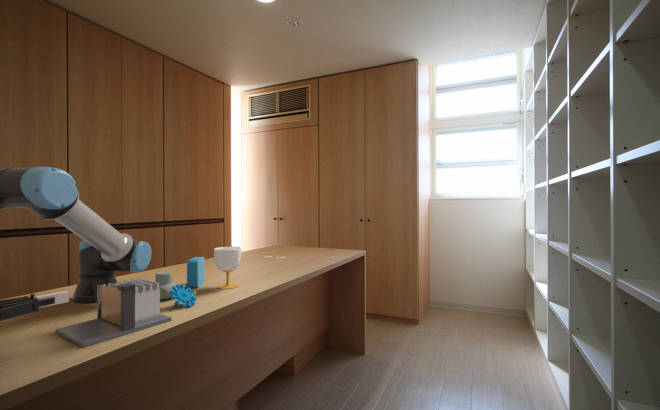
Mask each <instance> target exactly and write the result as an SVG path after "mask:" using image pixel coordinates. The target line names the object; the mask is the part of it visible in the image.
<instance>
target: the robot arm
mask: <svg viewBox="0 0 660 410" xmlns="http://www.w3.org/2000/svg"><path fill="white" fill-rule="evenodd" d="M76 185H77V183H76V181H75V179H74V178H73V176H72V175H71V174H70V173H68V172H67V171H65V170H63V169H60V168H57V167H50V166H34V167H32V166H31V167H5V168H0V211H2V210H8V209H26V210H29V211H31V212H33V213H34V214H36V215H37V216H39V218H41V219H43V220H46V221H50V220H55V221H56V222H57V223H59V224H60V225H62V226H63V227H65V228H66V229H67V230H69V231H70V232H71V233H73V234H75V235H76V236H77V237H79V238H80V239H82V240H81V242H80V243H79V245H78V247H79V248H78V273H79V274H78V281H77V283H76V286H75V289H74V292H73V295H72V300H73V302H74V303H79V304H80V303H81V304H82V303H84V304H87V303H97V285H101V284H106V285H107V286H108V283H113V284H116V282H118V280H117V277H116V272H118V273H119V272H121V273H123V272H125V273H140V272H143V271H145V270H146V269H147V268H148V267H149V264H150V262H151V261H152V252H153V251H152V246H151V245H150V243H148V242H146V241H143V240H140V241H138V240H136V239H135V238H134V237H133V236H132V235H130V234H128V233H125V232H124V233H123V232H122V233H121V232H119V231H118V230H117V229H116V228H114V227H113V226H112V225H111V224H110V223H108V222H107V221H106V220H105V219H103V218H102V216H100V215H98V213H96V212H95V211H94V210H92V209H91V208H90V207H89V206H88V205H86V203H84V202H83V201H82V200H80V199H79V198H80V194H79V191H78V187H77V186H76ZM29 294H30V295H29V296H28V295H26V296H25V295H24V296H21V297H13V298H5V299H0V322H2V321H5V320H10V319H13V318H17V317H20V316H24V315H28V314H31V313H39V309H42V308H46V307H47V308H48V307H51V306H52V307H53V306H55V305H61V304H65V303H69V302H70V291H68V290H64V291H57V292H51V293H48V294H42V295H37V296H35V294H34V293H29Z"/></svg>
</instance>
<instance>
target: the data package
mask: <svg viewBox="0 0 660 410" xmlns="http://www.w3.org/2000/svg"><path fill="white" fill-rule="evenodd" d="M205 261H206V259H205V257H204V256H195V257H192V258H190V259H188V260H187V263H186V284H187V285H186V287H187V289H188V288H189V287H190V288H191V289H192V288H193V289H195V288H196V289H197V288H199V287H201V286H202V285H203V284H204V283H205V278H206V277H205V276H206V275H205V274H206V265H205V264H206V262H205Z"/></svg>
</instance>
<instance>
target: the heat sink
mask: <svg viewBox="0 0 660 410" xmlns="http://www.w3.org/2000/svg"><path fill="white" fill-rule="evenodd" d="M126 283H130V284H134V285H135V324H139V323H142V322H146V321H149V320H153V319H156V318H159V317H160V314H161V300H160V289H159V283H158V282H155V281H153V280H150V279H145V278H141V277H138V278H136V279H133V278H132V279H129V280H122V282H121V281H117V282H116V284H113V283H108V286H110V287H114V288H117V285H120V284H126Z"/></svg>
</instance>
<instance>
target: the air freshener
mask: <svg viewBox="0 0 660 410" xmlns="http://www.w3.org/2000/svg"><path fill="white" fill-rule="evenodd" d="M154 282H158V283H159V289H160V301H166V300H169V299H172V295H174V294H171V293H170V291H171V290H172V287H173V286H176V285H177V284H178V283H176V282H173V272H172V271H168V270H165V271H164V270H163V271H158V272H156V273H155V281H154ZM176 289H177V287H176ZM177 290H178V289H177Z"/></svg>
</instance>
